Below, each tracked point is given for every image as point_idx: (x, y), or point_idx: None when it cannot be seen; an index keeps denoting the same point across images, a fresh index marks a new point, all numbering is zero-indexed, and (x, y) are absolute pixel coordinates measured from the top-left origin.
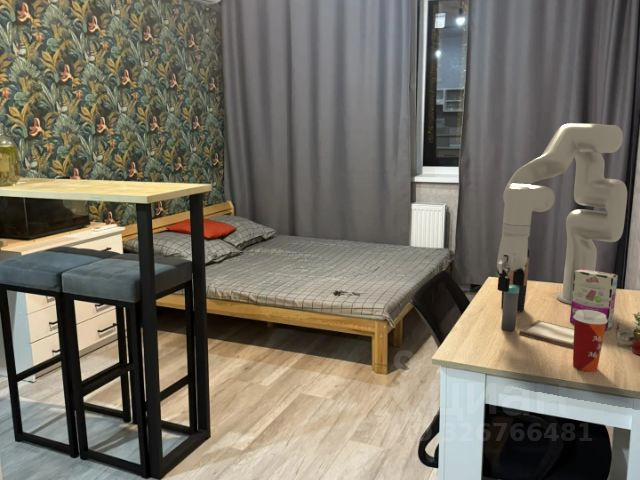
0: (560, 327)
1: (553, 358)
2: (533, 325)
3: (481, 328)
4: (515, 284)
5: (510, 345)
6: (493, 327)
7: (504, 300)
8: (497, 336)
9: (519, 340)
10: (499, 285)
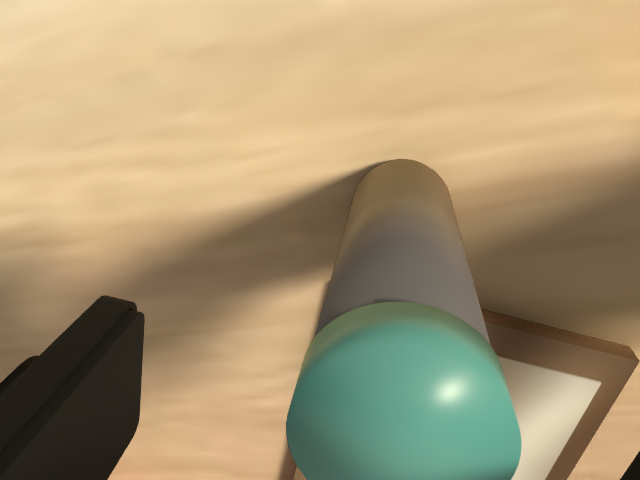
0: (528, 471)
1: None
2: (498, 347)
3: (316, 24)
4: (629, 470)
5: (136, 261)
6: (389, 102)
7: (347, 269)
8: (225, 169)
9: (241, 291)
10: (7, 378)
